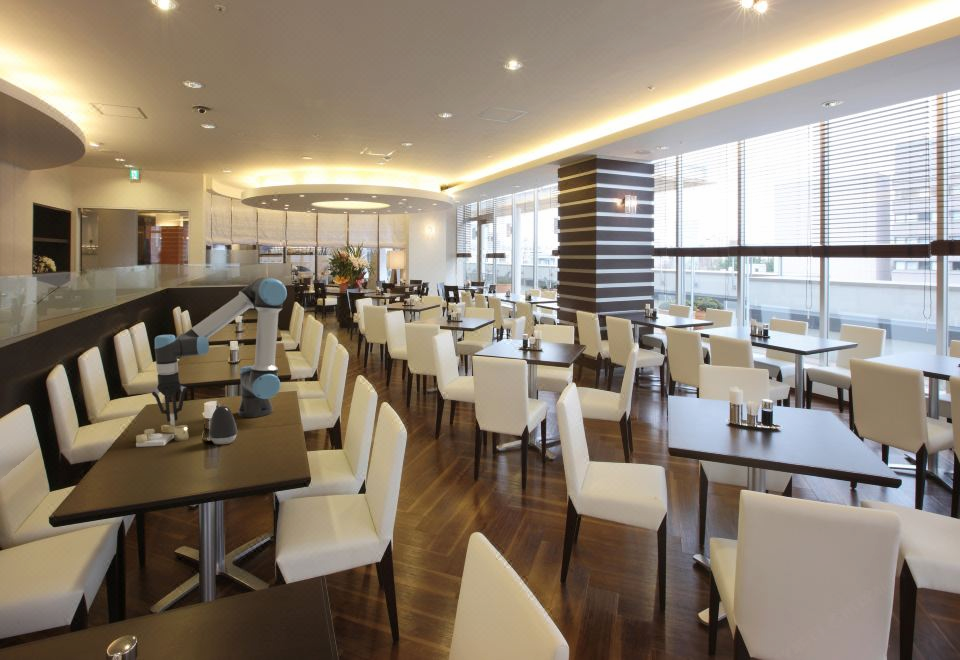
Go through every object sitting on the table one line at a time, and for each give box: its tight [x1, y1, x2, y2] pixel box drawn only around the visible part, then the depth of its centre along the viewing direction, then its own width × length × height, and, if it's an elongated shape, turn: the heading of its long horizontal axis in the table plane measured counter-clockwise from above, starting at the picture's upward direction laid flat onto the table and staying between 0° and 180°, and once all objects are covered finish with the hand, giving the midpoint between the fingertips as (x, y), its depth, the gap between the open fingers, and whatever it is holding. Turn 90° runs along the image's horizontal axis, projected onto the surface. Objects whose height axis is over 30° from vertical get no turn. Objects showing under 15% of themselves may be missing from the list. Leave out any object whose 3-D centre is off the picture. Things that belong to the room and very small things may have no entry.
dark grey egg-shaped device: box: [208, 405, 238, 445], centre depth 216 cm, size 10×10×15 cm
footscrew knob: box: [160, 424, 189, 442], centre depth 220 cm, size 12×5×5 cm, turn 72°
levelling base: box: [135, 428, 175, 448], centre depth 218 cm, size 10×14×4 cm
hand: (173, 428), depth 224 cm, fingers closed
